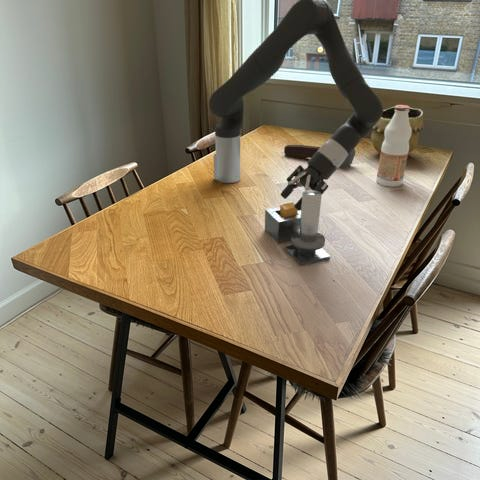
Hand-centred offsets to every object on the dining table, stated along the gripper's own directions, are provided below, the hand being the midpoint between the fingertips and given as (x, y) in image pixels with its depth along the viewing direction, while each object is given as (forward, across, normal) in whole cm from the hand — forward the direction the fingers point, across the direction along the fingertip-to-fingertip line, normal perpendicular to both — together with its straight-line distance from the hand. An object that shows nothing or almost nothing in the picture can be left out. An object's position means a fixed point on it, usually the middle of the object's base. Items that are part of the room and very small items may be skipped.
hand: (289, 202), depth 125 cm
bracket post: (+7, +6, +7) cm, 12 cm away
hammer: (-21, -52, +36) cm, 67 cm away
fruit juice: (-31, -21, +45) cm, 59 cm away
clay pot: (-45, -44, +59) cm, 86 cm away
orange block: (+6, 0, +7) cm, 9 cm away
